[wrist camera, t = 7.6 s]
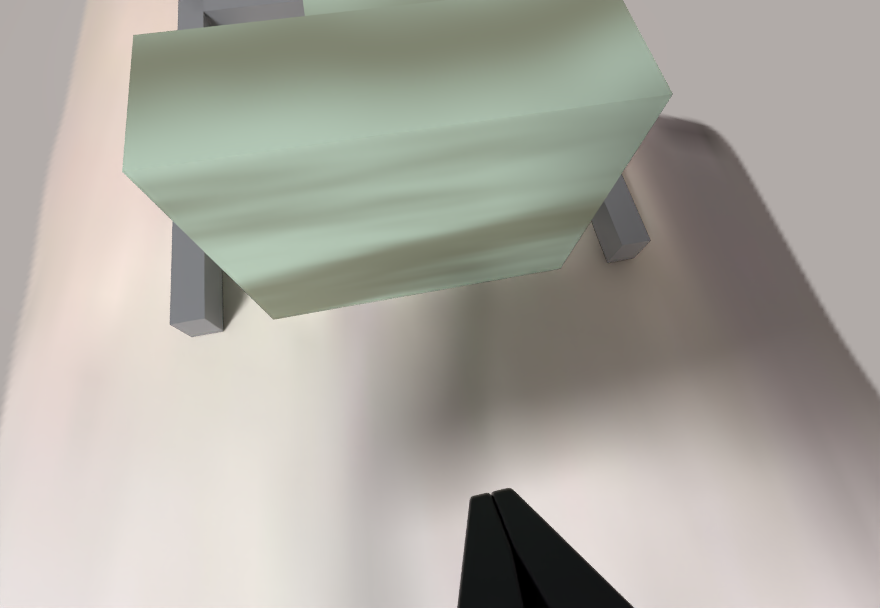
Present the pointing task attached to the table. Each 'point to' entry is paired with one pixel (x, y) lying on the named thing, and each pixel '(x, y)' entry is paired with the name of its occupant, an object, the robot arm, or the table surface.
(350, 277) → the T-block
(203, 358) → the table surface
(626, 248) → the frame
